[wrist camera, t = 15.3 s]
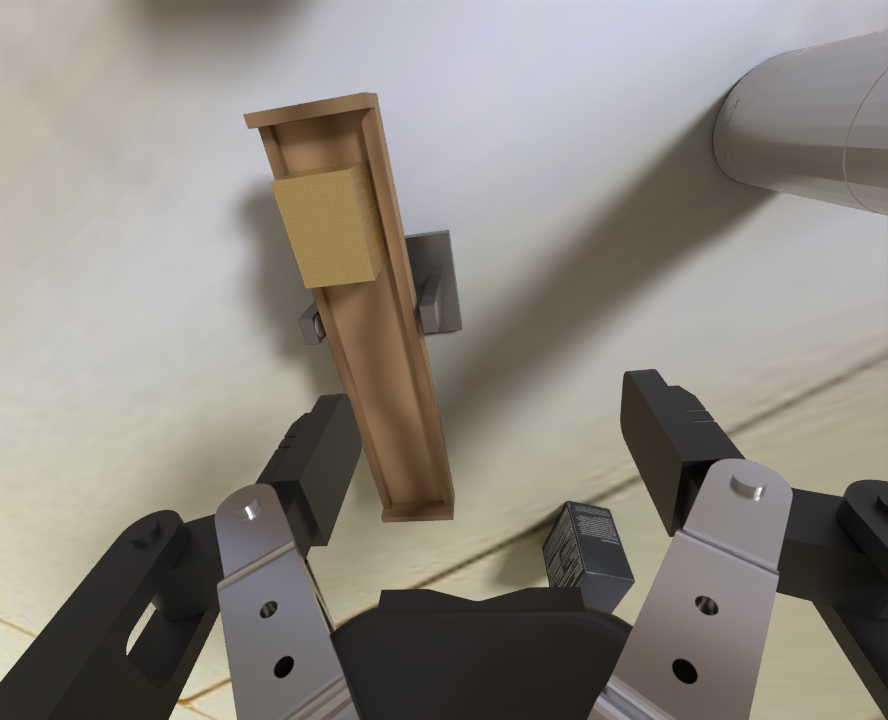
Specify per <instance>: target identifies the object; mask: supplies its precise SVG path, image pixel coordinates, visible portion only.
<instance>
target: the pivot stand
mask: <svg viewBox="0 0 888 720" xmlns="http://www.w3.org/2000/svg"><path fill="white" fill-rule="evenodd" d="M404 237H405V242H406V247H407V252H408V257H409V262H410V267H411V273H412V278H413V283H414V288H415V293H416V298H417V303H418V309H419V314H420V319H421V324H422V329H423V334H424V333H434V332H444V331H454V330H462V322H461V314H460V307H459V299H458V292H457V285H456V277H455V270H454V262H453V255H452V247H451V240H450V233H449V230H445V231H437V232H430V233H422V234H415V235H407V236H404ZM298 321H299V324H300V327H301V330H302V333H303V336H304V339H305V342H306V345H312V344H320V343H321V341H322V340H323V338H324V337H325V336H326V332H325V329H324V325H323V322H322V319H321V316H320V313H319V310H318V307H317V304H316V301H315V302H314V303H313V304H312V305H311V306H310V307H309V308H308V310H307V311H306V312H305V313H304V314H303V315H302V316H301V317H300V318H299V319H298Z"/></svg>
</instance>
